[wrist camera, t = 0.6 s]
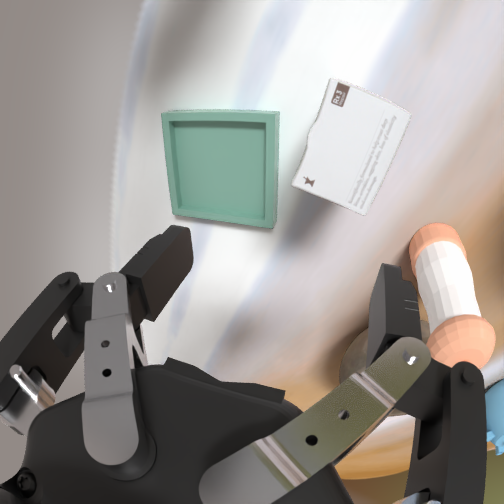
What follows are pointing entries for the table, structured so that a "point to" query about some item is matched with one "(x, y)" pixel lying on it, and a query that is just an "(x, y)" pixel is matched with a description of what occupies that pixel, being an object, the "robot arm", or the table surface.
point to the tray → (223, 164)
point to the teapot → (495, 415)
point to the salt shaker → (449, 298)
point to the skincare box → (351, 146)
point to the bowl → (358, 355)
